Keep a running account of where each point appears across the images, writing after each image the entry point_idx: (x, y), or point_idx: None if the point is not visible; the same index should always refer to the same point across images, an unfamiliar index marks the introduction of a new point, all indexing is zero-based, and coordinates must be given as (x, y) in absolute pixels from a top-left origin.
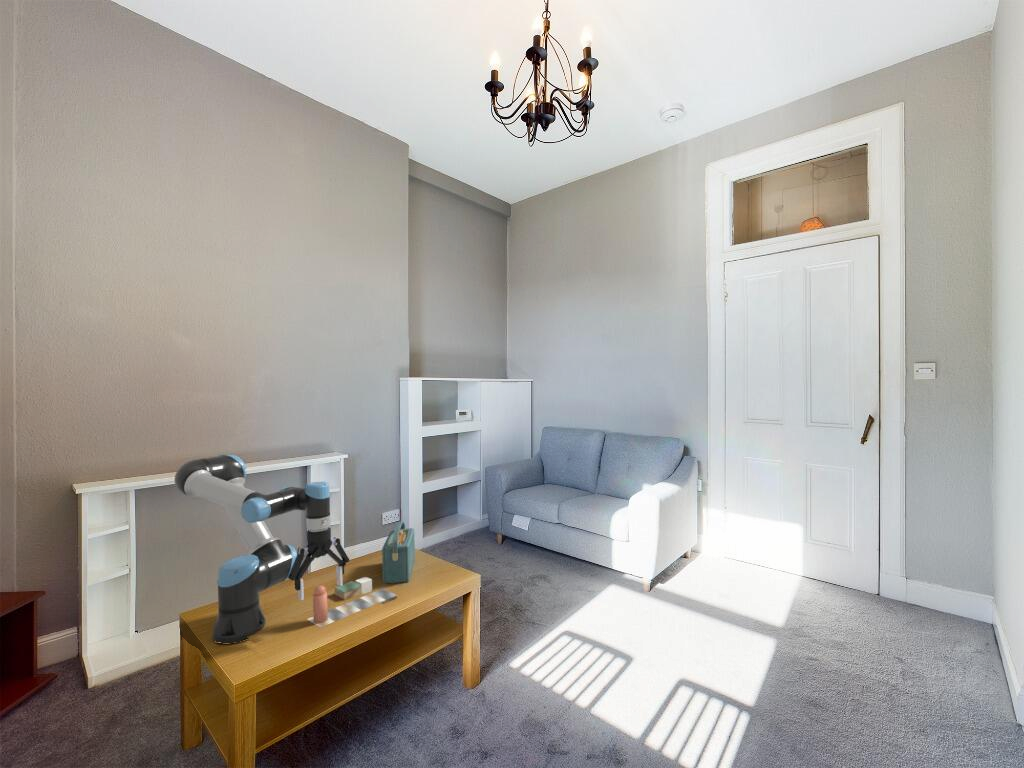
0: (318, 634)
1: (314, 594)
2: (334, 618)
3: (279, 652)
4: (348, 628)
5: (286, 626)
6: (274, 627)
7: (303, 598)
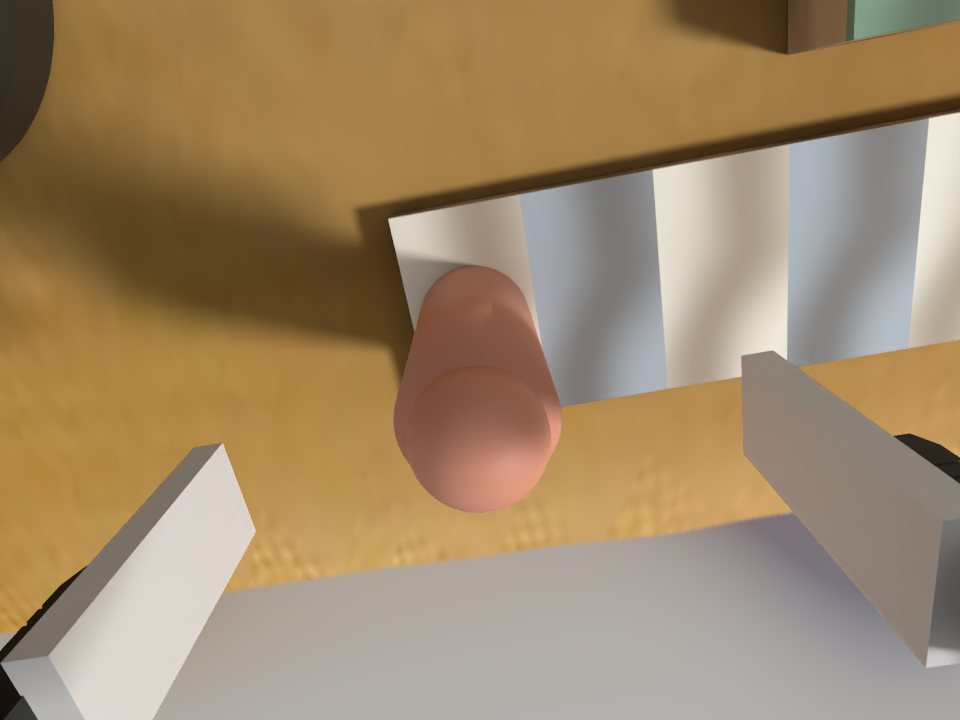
0: None
1: (413, 404)
2: (569, 365)
3: None
4: (600, 497)
5: (230, 160)
6: (134, 103)
7: (245, 543)
